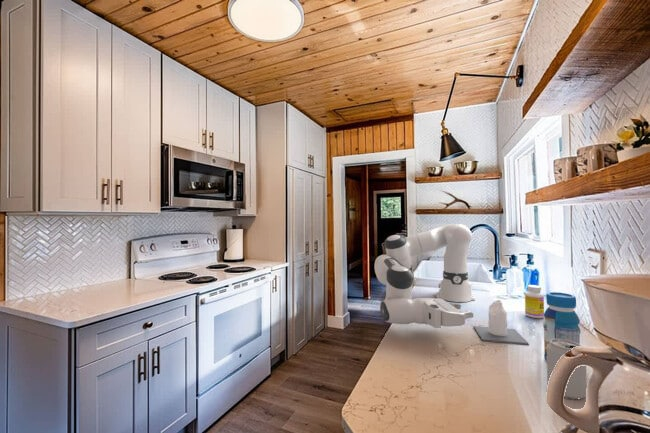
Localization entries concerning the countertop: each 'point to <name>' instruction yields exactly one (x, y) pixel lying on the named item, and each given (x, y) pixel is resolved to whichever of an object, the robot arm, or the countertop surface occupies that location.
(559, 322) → the beverage bottle
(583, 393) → the can
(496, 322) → the white piece
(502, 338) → the mat
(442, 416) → the countertop surface
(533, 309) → the supplement bottle
